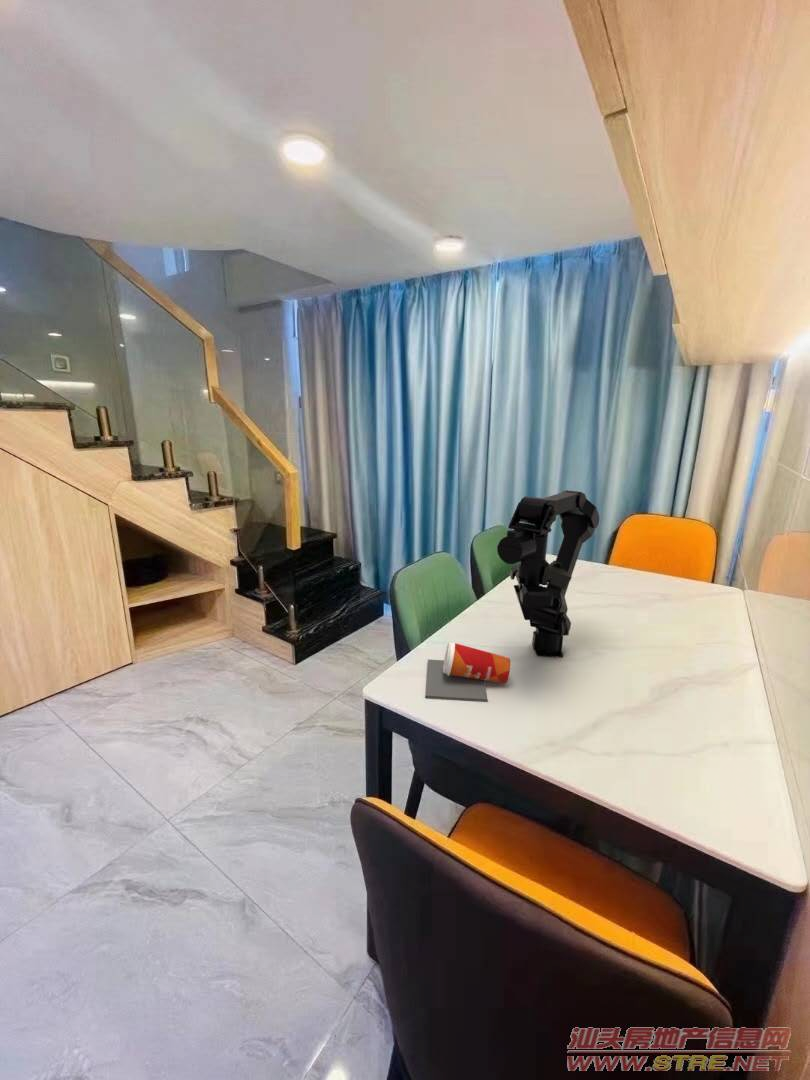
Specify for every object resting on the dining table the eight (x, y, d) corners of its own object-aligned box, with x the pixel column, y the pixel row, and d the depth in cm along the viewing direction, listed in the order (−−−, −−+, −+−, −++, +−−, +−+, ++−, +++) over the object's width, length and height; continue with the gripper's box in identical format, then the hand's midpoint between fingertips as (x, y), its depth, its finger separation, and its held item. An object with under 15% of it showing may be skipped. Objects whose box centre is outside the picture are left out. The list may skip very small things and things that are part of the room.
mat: (481, 664, 107) (481, 662, 107) (487, 701, 92) (487, 699, 92) (427, 661, 108) (427, 659, 108) (425, 698, 93) (425, 695, 93)
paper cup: (501, 690, 101) (441, 677, 101) (504, 657, 104) (446, 645, 105) (510, 684, 94) (445, 670, 95) (513, 649, 97) (450, 636, 98)
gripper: (582, 568, 88) (574, 640, 92) (559, 544, 106) (552, 605, 110) (525, 566, 89) (519, 637, 93) (511, 543, 107) (507, 603, 111)
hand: (526, 619), depth 101 cm, fingers closed
